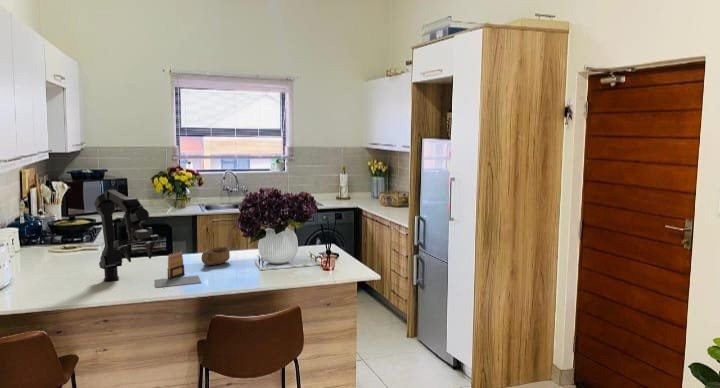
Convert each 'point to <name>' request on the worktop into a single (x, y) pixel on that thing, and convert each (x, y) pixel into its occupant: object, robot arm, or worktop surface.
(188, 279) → the rubber mat
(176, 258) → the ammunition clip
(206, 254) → the bowl
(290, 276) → the worktop surface
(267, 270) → the worktop surface
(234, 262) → the worktop surface
